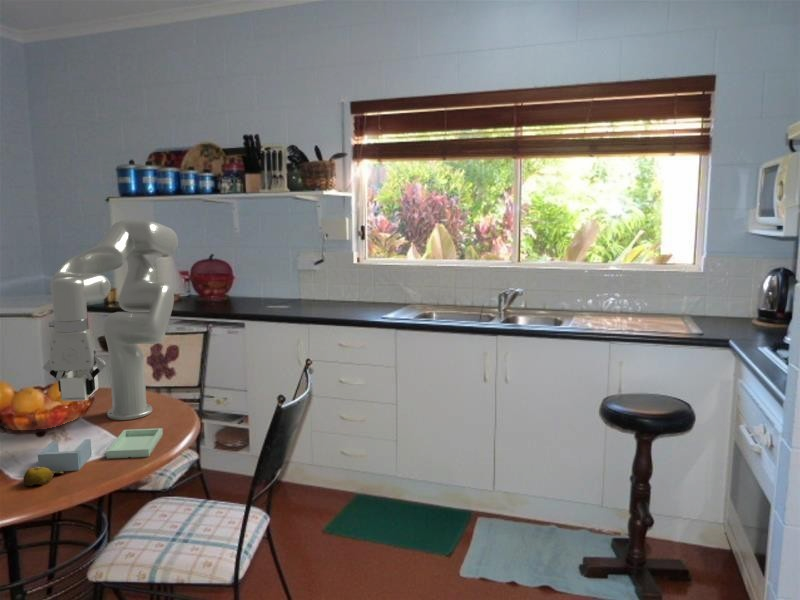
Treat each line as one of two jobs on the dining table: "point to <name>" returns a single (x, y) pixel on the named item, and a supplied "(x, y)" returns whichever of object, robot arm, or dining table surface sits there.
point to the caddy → (76, 386)
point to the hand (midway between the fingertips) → (77, 393)
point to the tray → (135, 443)
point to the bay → (64, 457)
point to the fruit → (38, 476)
